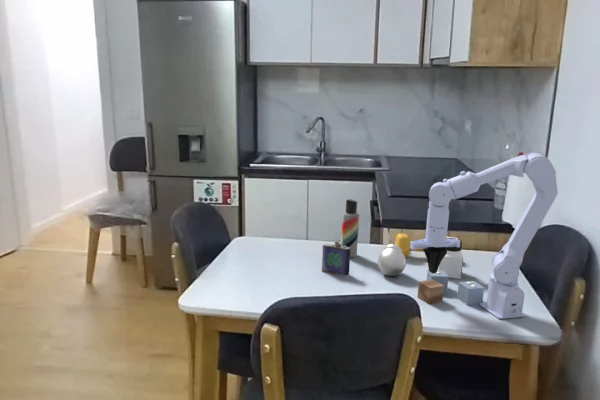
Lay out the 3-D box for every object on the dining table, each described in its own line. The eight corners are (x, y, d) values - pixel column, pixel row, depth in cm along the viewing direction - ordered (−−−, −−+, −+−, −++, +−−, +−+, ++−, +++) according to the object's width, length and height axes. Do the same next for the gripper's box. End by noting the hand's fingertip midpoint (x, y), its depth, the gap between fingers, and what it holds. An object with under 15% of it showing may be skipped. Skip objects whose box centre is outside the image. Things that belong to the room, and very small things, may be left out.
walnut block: (442, 302, 153) (444, 285, 152) (428, 304, 151) (430, 288, 150) (431, 295, 157) (432, 279, 156) (417, 297, 155) (418, 281, 154)
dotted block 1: (446, 292, 160) (448, 276, 159) (430, 291, 160) (431, 275, 159) (442, 285, 165) (444, 269, 164) (426, 285, 165) (427, 269, 164)
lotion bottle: (337, 253, 190) (340, 198, 185) (351, 251, 193) (354, 197, 188) (345, 258, 185) (348, 202, 180) (359, 256, 188) (363, 201, 183)
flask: (320, 271, 173) (322, 239, 170) (323, 268, 175) (325, 237, 173) (347, 276, 169) (349, 244, 167) (350, 273, 172) (352, 241, 169)
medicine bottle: (461, 279, 170) (465, 243, 167) (437, 277, 171) (441, 241, 169) (459, 271, 177) (463, 236, 174) (436, 269, 178) (440, 234, 175)
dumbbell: (396, 261, 185) (398, 238, 183) (392, 252, 194) (394, 230, 192) (451, 262, 185) (454, 240, 183) (445, 254, 194) (447, 232, 192)
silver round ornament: (409, 273, 173) (412, 244, 171) (398, 282, 166) (400, 251, 163) (384, 267, 178) (386, 238, 176) (371, 275, 171) (373, 245, 168)
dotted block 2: (482, 304, 152) (484, 286, 151) (466, 305, 151) (468, 288, 150) (472, 296, 157) (474, 280, 156) (457, 298, 156) (458, 281, 155)
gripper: (452, 220, 155) (448, 265, 158) (406, 223, 151) (402, 268, 154) (466, 227, 148) (461, 274, 151) (418, 230, 144) (414, 277, 147)
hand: (432, 272), depth 152 cm, fingers closed
